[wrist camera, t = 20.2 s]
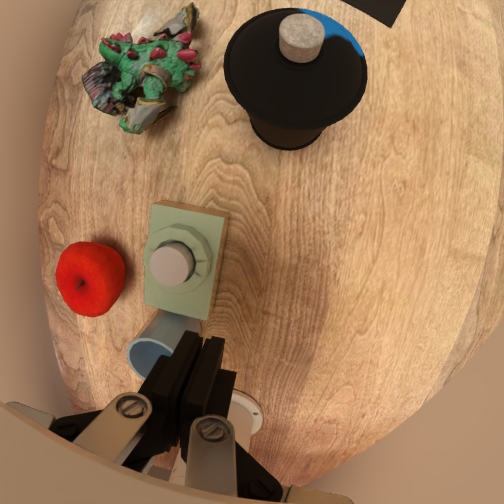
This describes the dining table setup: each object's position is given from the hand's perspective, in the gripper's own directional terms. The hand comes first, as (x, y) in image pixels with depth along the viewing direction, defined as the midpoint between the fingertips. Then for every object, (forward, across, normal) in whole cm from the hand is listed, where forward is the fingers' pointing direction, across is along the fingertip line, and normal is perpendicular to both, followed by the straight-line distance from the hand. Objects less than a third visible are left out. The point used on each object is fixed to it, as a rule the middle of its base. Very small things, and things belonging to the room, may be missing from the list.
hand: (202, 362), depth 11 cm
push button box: (+22, +7, +3) cm, 23 cm away
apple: (+22, +18, +7) cm, 29 cm away
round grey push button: (+17, +7, +2) cm, 18 cm away
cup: (+22, +8, +13) cm, 27 cm away
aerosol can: (+22, -2, -15) cm, 27 cm away
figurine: (+22, +13, -18) cm, 31 cm away
